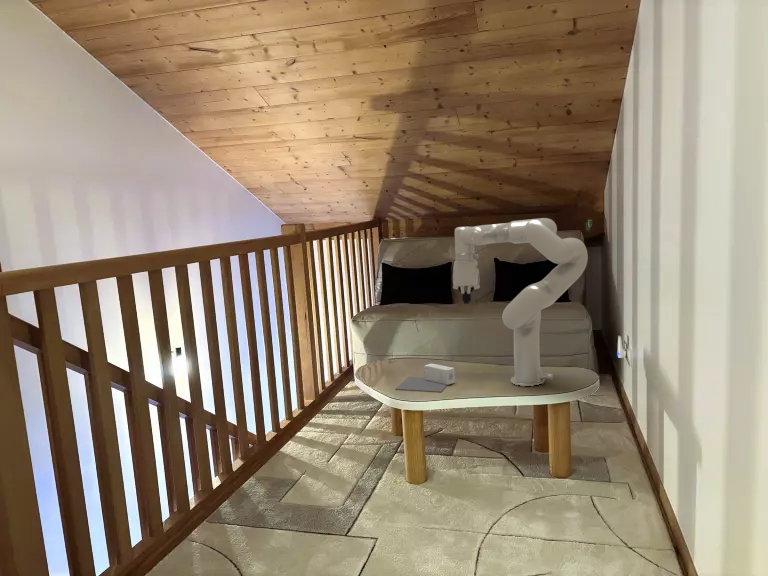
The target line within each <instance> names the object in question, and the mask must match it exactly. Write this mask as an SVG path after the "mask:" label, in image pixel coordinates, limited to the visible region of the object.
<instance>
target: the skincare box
mask: <svg viewBox="0 0 768 576" xmlns="http://www.w3.org/2000/svg"><path fill="white" fill-rule="evenodd" d="M423 368H424V370H423V372H424V373H423V374H424V378H425V380H429V381H433V382H438V383H442V384H446V385H447V386H449V385H451V384H453V383H455V381H456V377H455V374H456V373H455V367H450V366H445V365H442V364H436V363H433V362H432V363H428V364H425V365H424V367H423Z"/></svg>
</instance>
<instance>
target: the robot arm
mask: <svg viewBox="0 0 768 576" xmlns="http://www.w3.org/2000/svg"><path fill="white" fill-rule="evenodd" d="M557 232H558V226H557V224H556V223H555V221H554V220H553V219H551V218H547V217H541V218H532V219H519V220H512V221H510V222H505V223H495V224H494V223H493V224H482V225H476V226H458V227H456V228H454V249H455V261H454V263H453V270H452V283H453V285H452V289H454V290H458V291H459V292H460V293H461V294H462V302H463V304H464V305H467V304H468V305H469V304H470V303H471V301H472V295H471V294H472V292H473V291H474V290H479V289H480V288H481V286H480V281H481V280H480V271H479V270H480V269H479V263H478V261H477V260H476V259H479V254H476V252H475V246H482V245H483V246H485V245H490V244H501V243H512V244H514V245H517V244H530V246H532V247H533V248H534V249H536V250H537V251H538V252H539V253H540V254H542V256H543V257H545V258H546V259H547V260H549V261H550V262H552V263H554V264H557V266H555V267H554V268H553V269H552V270H551V271H550V272H549V273H548V274H546V276H545V277H544V278H543V279H541V280H540V281H538V282H535V283H531V284H529V285H528V286H525V288H523V289H522V290H521V291H520V292H519V293H518V294H517V295H516V296H515V297H514V298H513V299H512V300H511V301H510V302H509V303H508V304H507V305H506V307H505V308H504V309H503V311H502V317H501V319H502V322H503V325H504V326H505V327H507V328H508V329H510V330H513V362H514V363H513V364H514V369H513V370H514V372H513V373H514V376H512V377H511V378H510V383H511V384H512V383H513V384H512V385H514V384H515V386H518V385H520V386H519V387H525V386H531V387H534V386H533V385H539V384H542V383H543V382H544V381H545V380H553V373H552V374H551V373H550V372H544V371H543V370H542V368H541V357H540V356H541V355H540V354H541V353H540V352H541V351H540V349H541V348H540V329H541V328H540V327H541V319H542V310H544V309H546V308H548V307H550V306H553V304H554V303H555V302H556V301H557V300H558V299H559V298H560V297H561V296H562V295H563V294H564V293H565V292H566V291H567V290H568V289H569V288H570V287H571V286H572V285H573V284H575V282H577V280H578V279H579V278H580V277H581V276H582V275H583V273H584V272H585V270H586V267H587V265H588V260H589V256H588V250H587V247H586V245H585V243H584V242H583V241H582V240H580V239H579V238H577V237H576V238H575V237H566V238H561V237H560V236H559V235H558V234H557ZM466 287H467V289H466ZM466 290H467V291H466ZM544 383H545V382H544ZM544 383H543V384H544ZM543 384H542V385H543ZM539 386H540V385H539Z"/></svg>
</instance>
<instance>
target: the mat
mask: <svg viewBox="0 0 768 576" xmlns="http://www.w3.org/2000/svg"><path fill="white" fill-rule="evenodd" d="M447 386H448V385H446V384H442V383H438V382H433V381H429V380H425V377H419V376H408V377H407V378H406V379H404V381H402V382H401V383H400V384H399V385H398V386H397V387H396V388H395V390H396V389H398V390H397V391H407V390H409V391H411V392H427V393H443V391H444V390H445V389H446V388H447Z"/></svg>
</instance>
